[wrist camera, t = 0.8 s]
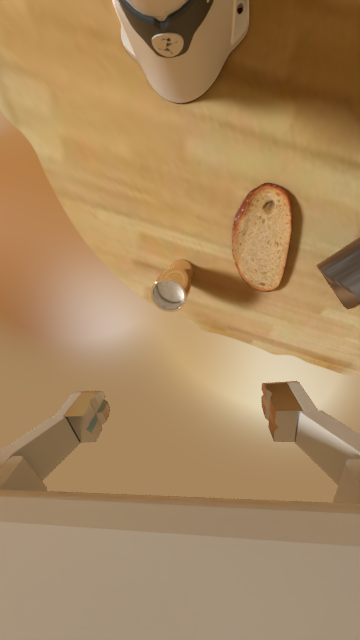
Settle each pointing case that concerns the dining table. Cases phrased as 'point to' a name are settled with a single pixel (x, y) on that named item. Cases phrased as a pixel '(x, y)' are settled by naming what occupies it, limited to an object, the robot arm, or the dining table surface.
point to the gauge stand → (344, 273)
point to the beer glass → (173, 286)
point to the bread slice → (263, 236)
